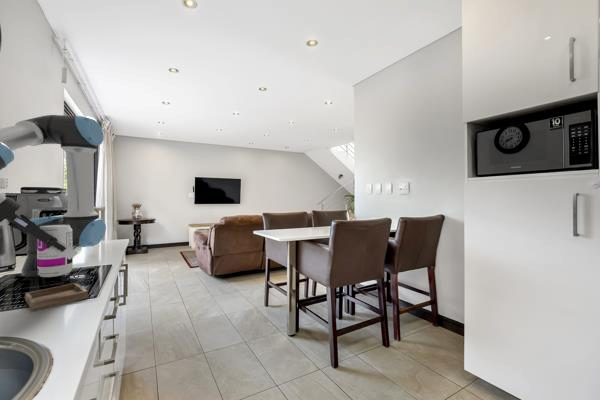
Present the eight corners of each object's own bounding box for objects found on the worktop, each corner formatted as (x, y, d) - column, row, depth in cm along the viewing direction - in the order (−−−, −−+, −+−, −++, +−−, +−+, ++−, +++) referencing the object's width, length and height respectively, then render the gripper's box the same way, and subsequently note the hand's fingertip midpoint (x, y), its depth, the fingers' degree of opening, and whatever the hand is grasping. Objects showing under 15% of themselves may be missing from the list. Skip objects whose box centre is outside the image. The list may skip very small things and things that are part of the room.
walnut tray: (25, 300, 84) (24, 293, 84) (76, 288, 94) (76, 282, 94) (32, 311, 77) (32, 303, 76) (87, 297, 87) (87, 291, 86)
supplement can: (51, 278, 80) (51, 228, 80) (30, 276, 82) (29, 227, 81) (79, 270, 88) (78, 224, 88) (59, 269, 90) (58, 224, 89)
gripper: (-24, 213, 79) (50, 258, 92) (-18, 218, 66) (67, 269, 79) (3, 195, 83) (70, 240, 96) (13, 196, 70) (89, 248, 83)
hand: (69, 253), depth 87 cm, fingers closed on supplement can, 8 cm apart
